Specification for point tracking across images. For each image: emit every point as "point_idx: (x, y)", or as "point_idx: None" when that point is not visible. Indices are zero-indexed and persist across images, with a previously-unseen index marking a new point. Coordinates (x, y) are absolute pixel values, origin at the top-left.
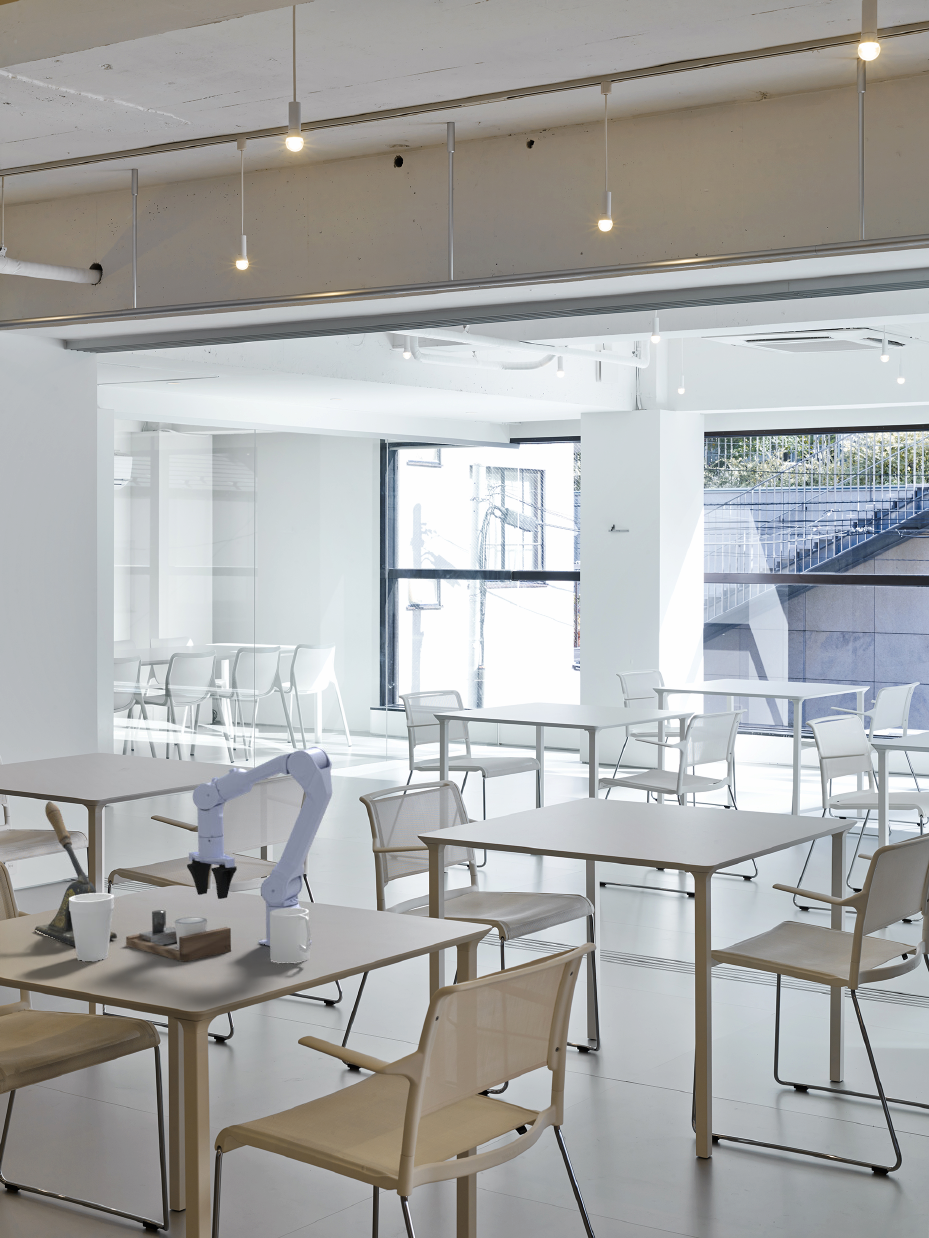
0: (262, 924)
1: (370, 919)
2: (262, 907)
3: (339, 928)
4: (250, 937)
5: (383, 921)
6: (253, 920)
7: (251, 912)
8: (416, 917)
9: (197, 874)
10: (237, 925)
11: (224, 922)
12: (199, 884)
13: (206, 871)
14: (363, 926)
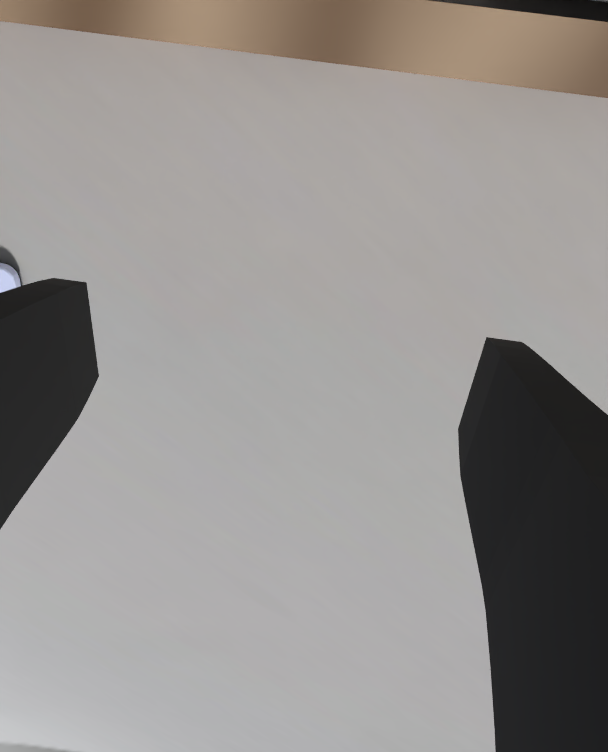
0: (359, 552)
1: (91, 702)
2: None
3: (45, 603)
4: (183, 351)
5: (37, 696)
6: (458, 586)
7: None
8: (18, 741)
9: (580, 543)
10: (459, 499)
11: None
12: (518, 431)
13: (513, 700)
14: (16, 642)
